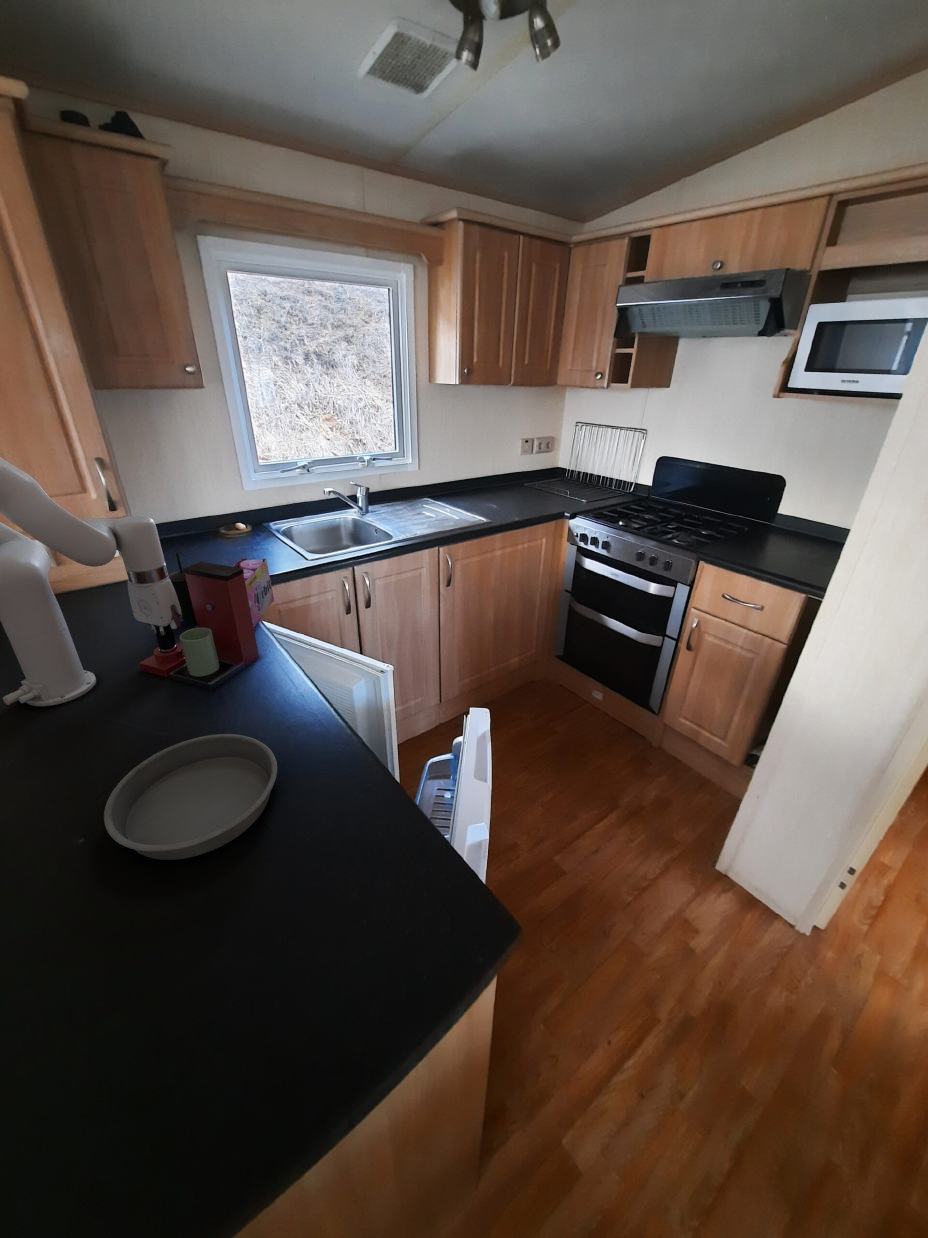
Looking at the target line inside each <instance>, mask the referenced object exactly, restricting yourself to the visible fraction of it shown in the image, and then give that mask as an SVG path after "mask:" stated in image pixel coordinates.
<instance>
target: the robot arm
mask: <svg viewBox="0 0 928 1238" xmlns="http://www.w3.org/2000/svg"><path fill="white" fill-rule="evenodd" d="M0 514H1V515H2V516H3V517H4V518H5V519H7V520H8V521H10V522H11V523H12V524H13V525H15V526H16V527H18V528H19V529H20V530H22V531H23V532H25V533H26V534H27V535H29V536H30V537H32V538H33V539H34V540H36V541H37V542H39V543H41V544H42V545H44V546H46V547H47V548H49V549H50V550H52V551H54V552H56V553H59V554H60V555H62V556H64V557H66V558H67V559H69V560H71V561H73V562H75V563H77V564H80V565H83V566H86V567H93V568H97V567H102V566H105V565H107V564H109V563H110V562H111V561H112V560H113V559H114V558H115V556H116V554H117V551H118V552H119V553H120V556H121V559H122V562H123V565H124V569H125V572H126V575H127V579H128V580H127V591H128V598H129V603H130V607H131V612H132V614H133V618H134V619H135V620H136V621H137V622H141V623H145V624H148V625H149V626H150V628H151V631H152V633H153V634H155V638H156V642H157V644H158V647H159V648H160V649H163V650H167V649H168V648H170V647H172V646H174V645H176V643H177V641H176V639H175V634H174V630H177V629H179V628H181V627H182V623H181V621H180V620H181V619H182V613H181V608H180V604H179V601H178V598H177V595H176V592H175V590H174V587H173V585H172V583H171V581H170V579H169V575H170V574H169V572H168V567H167V563H166V559H165V556H164V552H163V549H162V545H161V540H160V536H159V532H158V529H157V525H156V522H155V520H154V519H153V518H152V517H150V516H147V515H130V516H124V517H121V518H120V517H119V518H107V517H106V518H105V517H103V518H102V517H91V518H85V519H80V518H79V517H77V516H75V515H74V514H72V513H70V512H68V510H66V509H65V508H63V506H61V505H59V504H58V503H57V502H56V501H54V500H53V499H52V498H51V497H50V496H49V495H48V493H47V492H46V491H45V490H44V488H43V487H42V486H41V485H40V483H39V482H38V481H37V480H36V479H34V477H32V476H31V475H30V474H29V473H28V472H25V471H23V470H22V469H21V468H18V467H17V466H16V465H13V464H12V463H11V462H9V461H7V460H5V459H4V458H2V457H1V456H0ZM30 537H28V536H26V535H25V534H22V533H21V532H19V531H18V530H15V529H14V528H12V527H10V526H8V525H7V524H5V523H3V522H1V521H0V623H1V625H2V628H3V629H4V632H5V634H6V636H7V639H8V641H9V643H10V645H11V648H12V650H13V652H14V654H15V656H16V660H17V661H18V664H19V666H20V669H21V670H22V673H23V675H24V677H25V679H23V680H21V681H20V683H21V685H22V686H20V687H18V690H16V691H13V692H10V693H9V694H6V695H4V696H3V697H2V701H3V703H4V704H6V705H7V706H10V705H12V704H14V703H16V702H18V701H19V702H20V704H25V703H26V704H28V705H30V706H32V707H33V706H34V707H51V706H56V705H60V704H63V703H68V702H70V701H73V700H75V699H77V698H80V697H82V696H83V695H86V694H87V693H88V692H89V691H91V690H92V689H93V688H94V686H96V684H97V677H96V676H95V674H94V673H93V672H92V671H88V670H84V667H83V665H82V662H81V660H80V657H79V654H78V652H77V648H76V646H75V643H74V640H73V638H72V635H71V633H70V629H69V627H68V625H67V622H66V619H65V617H64V615H63V612H62V608H61V607H60V605H59V602H58V600H57V598H56V595H55V594H54V591H53V589H52V586H51V584H50V579H49V575H50V570H51V558H50V555H49V553H48V552H47V550H46V549H45V548H44V547H43V546H42V545H41V544H39V543H37V542H36V541H34V540H33V539H32V538H30Z"/></svg>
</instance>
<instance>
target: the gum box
mask: <svg viewBox="0 0 928 1238" xmlns="http://www.w3.org/2000/svg"><path fill="white" fill-rule="evenodd" d="M232 567H237V568H243V570H244V579H245V585H246V590H247V595H248V600H249V606H250V611H251V616H252V622H253V627H254V628H255V627H256V626H257V625H258V623H259V622H260V620H261V619H262V618H263V616H264V615H265V614H266V613H267V611H268V609H269V608H270V607H271V606H272V604H273V603H274V601H275V598H274V593H273V592H274V591H273V587H272V581H271V575H270V572H269V567H268V561H267V558H262V560H260V559H247V558H246V557H245V558H243V557H242V558H241V559H239V560H238V561H236V562H235V563H234V565H232Z"/></svg>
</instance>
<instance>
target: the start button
mask: <svg viewBox="0 0 928 1238" xmlns="http://www.w3.org/2000/svg"><path fill="white" fill-rule="evenodd" d="M160 650H161V653H163V654H164V653H170V652H173V651H175V650H177V649H176V645H174V646H172V647H170V648H168V649H167V650H163V649H160Z"/></svg>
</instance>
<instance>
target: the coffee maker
mask: <svg viewBox="0 0 928 1238" xmlns="http://www.w3.org/2000/svg"><path fill="white" fill-rule="evenodd" d="M182 570H183V571H184V574H185V577H186V581H187V585H188V589H189V593H190V597H191V601H192V605H193V609H194V613H195V618H196V622H197V624H196V625H197V628H209V629H210V630H212V634H213V638H214V642H215V647H216V651H217V655H218V660H219V665H220V667H219V669H218V670H217V671H216V672H214V673H212V674H209V675H206V676H192V675H190V674H189V671H188V668H187V664H184V665H183V666H181V667H179V668H178V669H176V670H174V671H173V672H171V673H170V676H169V677H170V679H172V680H175V681H180V682H182V683H186V684H190V685H194V686H198V687H200V688H201V687H202V688H204V689H209V690H214V689H216V688H217V687H218V686H220V685H222V684H223V683H224V682H226V681H227V680H228V679H230V678H231V677H233V676H234V675H236V674H238V673H239V672H240V671H242V670H243V669H245V668H246V667H247V666H249V665H250V664H252V663H253V662H255V661H256V660H257V659H259V658H260V653H259V649H258V644H257V638H256V634H255V633H256V632H255V627H253V622H252V616H251V611H250V606H249V600H248V595H247V590H246V585H245V579H244V570H243V568H237V567H233V566H231V565H226V564H219V563H213V562H207V561H199V562H196V563H193V564H191V565H188V566H185V567H182Z"/></svg>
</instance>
